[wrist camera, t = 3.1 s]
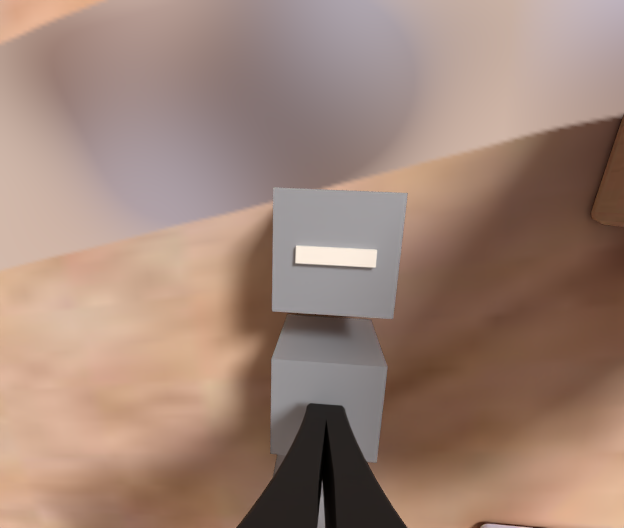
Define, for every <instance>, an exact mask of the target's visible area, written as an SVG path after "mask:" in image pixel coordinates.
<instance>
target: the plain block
mask: <svg viewBox="0 0 624 528" xmlns="http://www.w3.org/2000/svg"><path fill="white" fill-rule="evenodd" d="M387 368H388V367H387V364H386V361H385V358H384V355H383V352H382V350H381V347H380V344H379V341H378V338H377V335H376V332H375V329H374V327H373V324H372V321H371V320H369V319H354V318H338V317H322V316H306V315H290V314H287V317H286V319H285V322H284V325H283V328H282V331H281V334H280V336H279V339H278V342H277V345H276V348H275V350H274V353H273V356H272V359H271V441H270V454H280V455H286V454H287V453H288V451H289V449H290V447H291V445H292V443H293V441H294V439H295V437H296V435H297V433H298V430H299V428H300V426H301V423H302V421H303V418H304V415H305V412H306V408H307V405H308V404H310V403H315V404H329V405H342V406H343V407H344V408H345V412H346V415H347V418H348V421H349V424H350V426H351V429H352V431H353V434H354V436H355V438H356V441H357V443H358V445H359V447H360V449H361V451H362V453H363V455H364V458H365V459H366V461H367V462H374V463H377V455H378V447H379V438H380V429H381V421H382V412H383V403H384V394H385V386H386V377H387Z"/></svg>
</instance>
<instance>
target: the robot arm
mask: <svg viewBox="0 0 624 528" xmlns="http://www.w3.org/2000/svg"><path fill="white" fill-rule="evenodd" d="M322 481H323V498H324V516H325V528H407V527H406V525H405V524H404V522H403V521H402V519H401V518H400V517H399V515H398V514H397V512H396V511H395V509H394V508H393V506H392V505H391V503H390V501H389V500H388V498H387V497H386V495H385V493H384V492H383V490H382V488H381V487H380V485H379V483H378V482H377V480H376V478H375V476H374V474H373V473H372V471H371V469H370V467H369V465H368V463H367V461H366V459H365V458H364V455H363V453H362V451H361V449H360V447H359V445H358V443H357V441H356V438H355V436H354V434H353V431H352V429H351V426H350V424H349V421H348V418H347V415H346V412H345V408H344V407H343V406H342V405H329V404H315V403H310V404H308V405H307V408H306V412H305V415H304V418H303V421H302V423H301V426H300V428H299V430H298V433H297V435H296V437H295V439H294V441H293V443H292V445H291V447H290V449H289V451H288V453H287V454H286V456H285V458H284V460H283V461H282V463H281V465H280V467H279V468H278V470H277V472H276V473H275V475H274V477H273V478H272V480H271V481H270V483H269V484H268V486H267V487H266V489H265V490H264V492H263V493H262V495H261V496H260V497H259V499H258V500H257V501H256V503H255V504H254V506H253V507H252V508H251V510H250V511H249V512H248V514H247V515H246V516H245V517H244V519H243V520H242V521H241V523H240V524H239V525H238V526H237V527H236V528H317V526H318V516H319V507H320V497H321V488H322ZM480 528H531V527H520V526H509V525H499V524H484V525H482V526H481V527H480Z"/></svg>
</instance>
